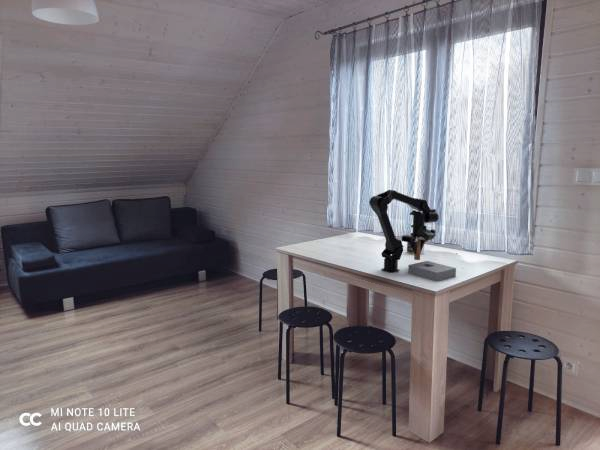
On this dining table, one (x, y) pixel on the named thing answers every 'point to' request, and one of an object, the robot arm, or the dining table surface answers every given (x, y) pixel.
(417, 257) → the terracotta peg
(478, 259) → the dining table surface
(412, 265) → the hole block
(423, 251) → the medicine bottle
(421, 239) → the robot arm
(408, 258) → the dining table surface
